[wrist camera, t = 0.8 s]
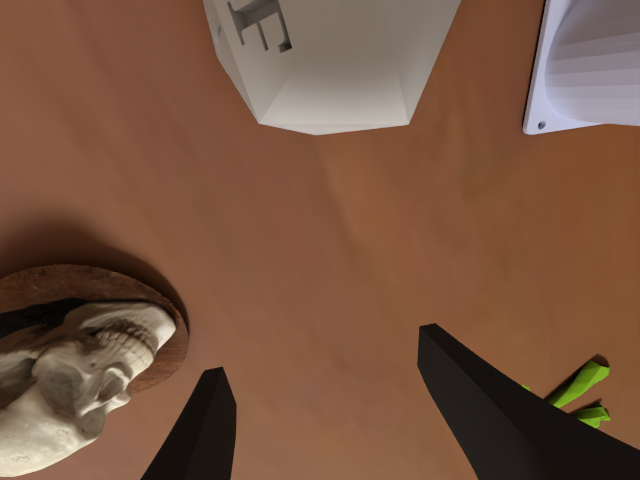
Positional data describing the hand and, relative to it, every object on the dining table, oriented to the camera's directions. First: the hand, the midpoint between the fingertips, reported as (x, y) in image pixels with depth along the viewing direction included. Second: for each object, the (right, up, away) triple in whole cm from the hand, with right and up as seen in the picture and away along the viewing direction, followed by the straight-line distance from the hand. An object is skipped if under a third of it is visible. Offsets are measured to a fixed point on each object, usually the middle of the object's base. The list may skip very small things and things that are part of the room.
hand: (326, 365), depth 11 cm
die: (-1, +15, +4) cm, 16 cm away
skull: (-17, +2, +9) cm, 19 cm away
